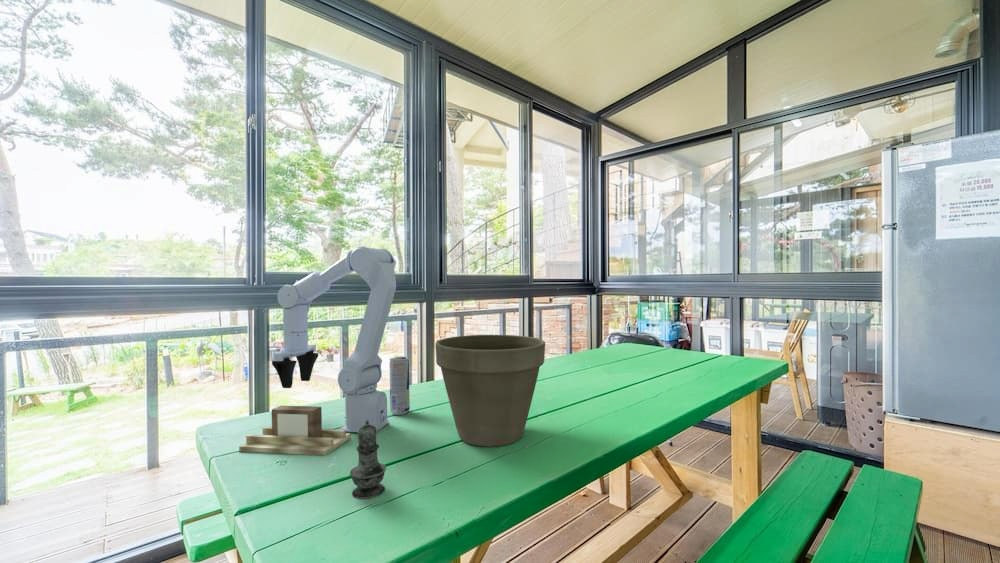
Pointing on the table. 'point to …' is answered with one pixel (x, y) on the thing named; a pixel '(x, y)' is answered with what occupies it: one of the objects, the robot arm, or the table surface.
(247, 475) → the table surface
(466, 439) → the plant pot
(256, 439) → the ledge
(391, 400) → the beverage can
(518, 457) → the table surface
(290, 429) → the frame
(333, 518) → the table surface
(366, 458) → the salt shaker
